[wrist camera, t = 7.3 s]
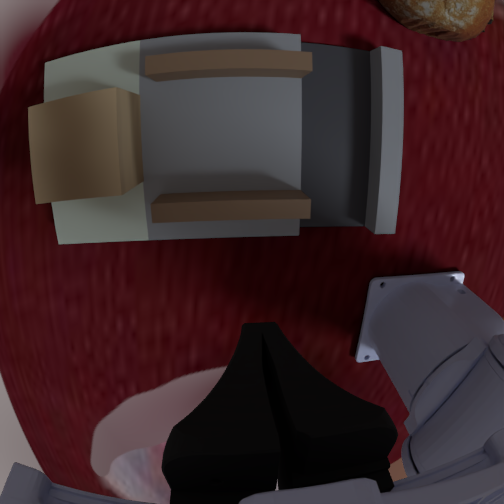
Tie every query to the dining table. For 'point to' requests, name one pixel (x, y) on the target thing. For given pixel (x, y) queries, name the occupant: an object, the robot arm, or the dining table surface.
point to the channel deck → (244, 137)
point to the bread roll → (443, 17)
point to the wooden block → (86, 145)
